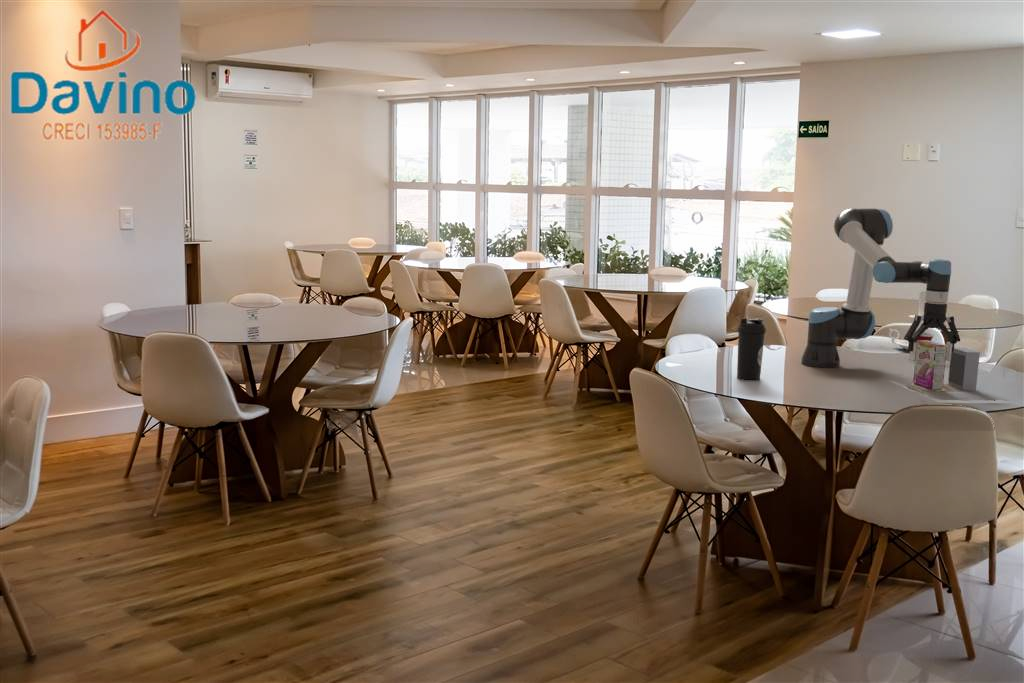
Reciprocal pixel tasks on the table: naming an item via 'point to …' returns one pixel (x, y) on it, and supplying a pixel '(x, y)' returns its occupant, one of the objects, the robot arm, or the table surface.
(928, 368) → the candy bar box
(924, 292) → the candlestick
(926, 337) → the plastic cup
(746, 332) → the water bottle
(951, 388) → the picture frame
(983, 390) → the table surface
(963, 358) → the grey upright block
